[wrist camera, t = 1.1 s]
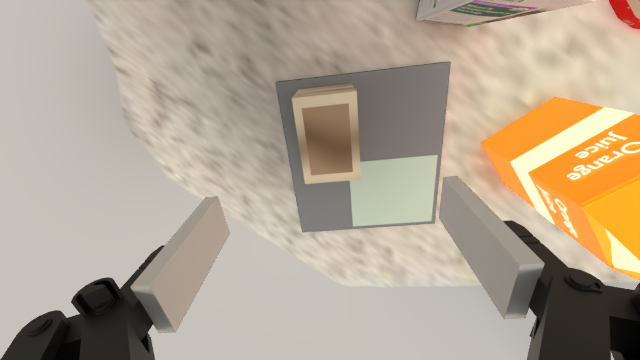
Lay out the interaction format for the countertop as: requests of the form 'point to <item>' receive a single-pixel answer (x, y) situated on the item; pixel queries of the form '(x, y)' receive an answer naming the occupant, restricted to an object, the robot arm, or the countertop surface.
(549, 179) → the orange juice
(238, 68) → the countertop surface
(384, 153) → the rubber mat
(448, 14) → the syrup box
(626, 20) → the kitchen timer
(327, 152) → the maple block
